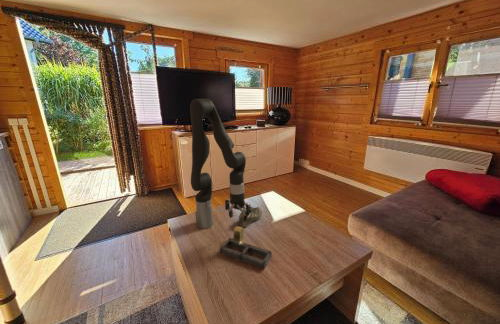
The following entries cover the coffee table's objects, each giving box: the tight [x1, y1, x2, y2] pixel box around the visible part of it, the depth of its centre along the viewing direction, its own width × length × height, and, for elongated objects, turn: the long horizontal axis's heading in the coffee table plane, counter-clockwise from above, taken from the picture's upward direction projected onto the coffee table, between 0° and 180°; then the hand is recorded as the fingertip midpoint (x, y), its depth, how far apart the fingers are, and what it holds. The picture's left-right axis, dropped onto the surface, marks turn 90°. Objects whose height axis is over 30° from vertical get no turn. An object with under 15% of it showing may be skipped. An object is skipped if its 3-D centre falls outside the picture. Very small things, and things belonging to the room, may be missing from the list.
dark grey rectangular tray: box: [219, 238, 273, 270], centre depth 105 cm, size 24×9×3 cm, turn 63°
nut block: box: [232, 225, 245, 242], centre depth 116 cm, size 4×4×7 cm
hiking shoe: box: [237, 205, 263, 228], centre depth 135 cm, size 9×21×12 cm, turn 145°
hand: (238, 218), depth 113 cm, fingers open, 8 cm apart
